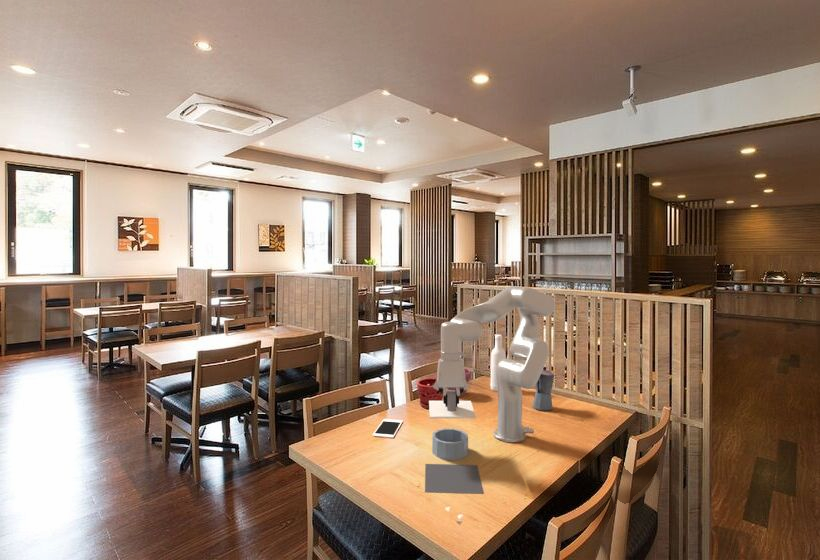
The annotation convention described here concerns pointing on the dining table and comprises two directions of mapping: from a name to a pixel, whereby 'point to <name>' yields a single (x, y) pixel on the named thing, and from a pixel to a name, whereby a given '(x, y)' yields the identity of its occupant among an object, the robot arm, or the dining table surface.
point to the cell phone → (388, 428)
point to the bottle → (496, 360)
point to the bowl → (450, 444)
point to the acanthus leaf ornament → (458, 515)
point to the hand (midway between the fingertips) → (451, 405)
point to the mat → (452, 479)
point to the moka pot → (544, 391)
